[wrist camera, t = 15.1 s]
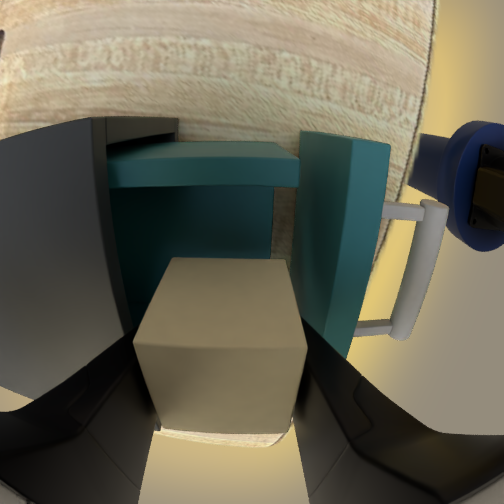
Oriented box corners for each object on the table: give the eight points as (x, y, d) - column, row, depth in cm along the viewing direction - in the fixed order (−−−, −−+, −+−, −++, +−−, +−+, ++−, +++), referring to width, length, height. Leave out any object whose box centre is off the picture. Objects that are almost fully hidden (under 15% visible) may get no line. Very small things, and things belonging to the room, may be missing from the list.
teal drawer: (402, 144, 14) (499, 171, 7) (370, 312, 19) (414, 397, 12) (80, 139, 14) (-17, 164, 6) (107, 307, 18) (59, 389, 11)
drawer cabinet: (178, 117, 14) (91, 116, 6) (188, 312, 20) (160, 431, 11) (-1, 149, 14) (-98, 185, 5) (30, 297, 19) (-30, 371, 10)
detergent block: (286, 258, 9) (308, 347, 6) (277, 343, 11) (288, 434, 7) (171, 256, 9) (131, 341, 5) (182, 341, 11) (162, 429, 7)
